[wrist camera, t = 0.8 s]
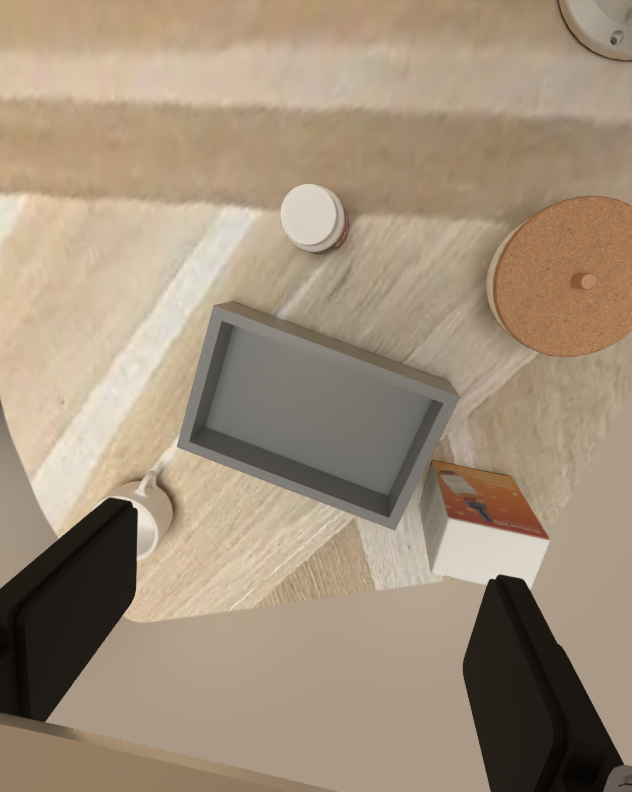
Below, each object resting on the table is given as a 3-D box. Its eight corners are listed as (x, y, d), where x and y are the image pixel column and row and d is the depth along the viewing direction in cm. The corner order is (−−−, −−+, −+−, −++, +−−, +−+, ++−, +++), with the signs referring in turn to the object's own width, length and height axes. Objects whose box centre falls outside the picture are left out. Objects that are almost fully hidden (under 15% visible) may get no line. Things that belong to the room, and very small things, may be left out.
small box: (511, 475, 42) (555, 540, 32) (495, 523, 44) (530, 599, 34) (431, 458, 42) (448, 516, 32) (417, 506, 44) (430, 575, 34)
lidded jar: (451, 316, 38) (475, 330, 29) (506, 192, 35) (551, 166, 26) (564, 357, 38) (623, 384, 29) (631, 236, 35) (720, 224, 26)
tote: (232, 301, 40) (213, 305, 36) (449, 381, 40) (460, 397, 35) (197, 428, 45) (176, 447, 40) (392, 502, 44) (395, 530, 40)
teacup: (169, 542, 50) (146, 573, 45) (110, 514, 50) (80, 542, 45) (197, 474, 47) (175, 499, 41) (134, 444, 47) (104, 466, 41)
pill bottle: (350, 253, 38) (343, 248, 30) (298, 256, 38) (278, 253, 31) (348, 195, 36) (340, 174, 29) (294, 200, 37) (272, 181, 29)
